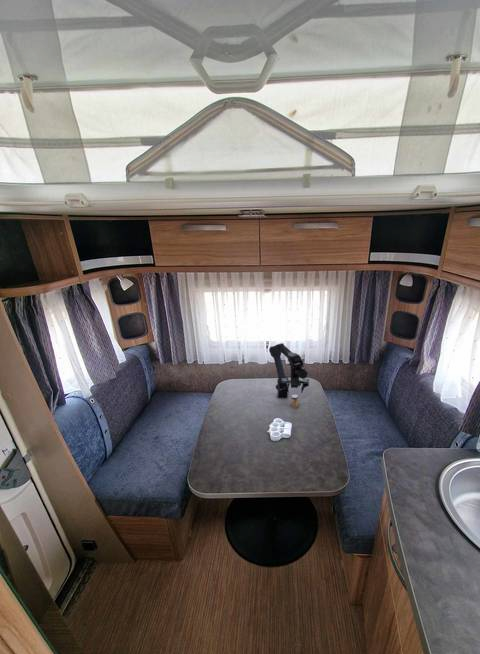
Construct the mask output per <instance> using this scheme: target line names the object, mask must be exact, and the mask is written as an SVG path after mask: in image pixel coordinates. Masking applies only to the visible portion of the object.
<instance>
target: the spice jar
mask: <svg viewBox="0 0 480 654" xmlns="http://www.w3.org/2000/svg"><path fill="white" fill-rule="evenodd" d="M291 407H292V408H298V407H299V395H298V394H292V395H291Z"/></svg>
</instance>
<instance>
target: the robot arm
mask: <svg viewBox="0 0 480 654" xmlns="http://www.w3.org/2000/svg"><path fill="white" fill-rule="evenodd" d="M268 351H269V354H270V356H271V357H272V358H273V360H274V364H275V370H276V372H277V377H278V378H277V380H276V382H277V384H276V385H275V389H276V390H277V398H279V399H281V398H282V399H286V398H287V397H288V395H289V393H290V389H289V388H292V389H295V388H296V389H298V388H299V387H301V390H300V391H301V392H300V393H301V394H302V393H303V392H304V390H305V388H307V387H309V385H310V379H309V378H307V377H308V373H309V372H308V371H307V370H306V368H305V367H304V362H303V360H302V357H301V355H300V354H298V353H296V352H293V351H291V349H289V348H288V347H287V346H286V345H285V344H284V343H282V342H281V343H277V344H275V345H271V346H269V348H268ZM282 355H284V357H285V358H287V362H288V366H290V379H289V378H288V377H287V376H286V374H285V370H284V366H283V362H282V357H281V356H282ZM300 379H302V380H300Z"/></svg>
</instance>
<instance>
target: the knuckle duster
mask: <svg viewBox="0 0 480 654" xmlns="http://www.w3.org/2000/svg"><path fill="white" fill-rule="evenodd" d="M292 426H293V424H292V422H290V421H289V422H288V421H284V420H283V418H278V417H276V418H274V419H273V421H272V422H271V423H270V424H269V425H268V427H269V428H268V430H267V431H266V432H267V433H269V437H270V440H271V441H273V442H277V441H280V440H281V439H289V438H291V435H292Z"/></svg>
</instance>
